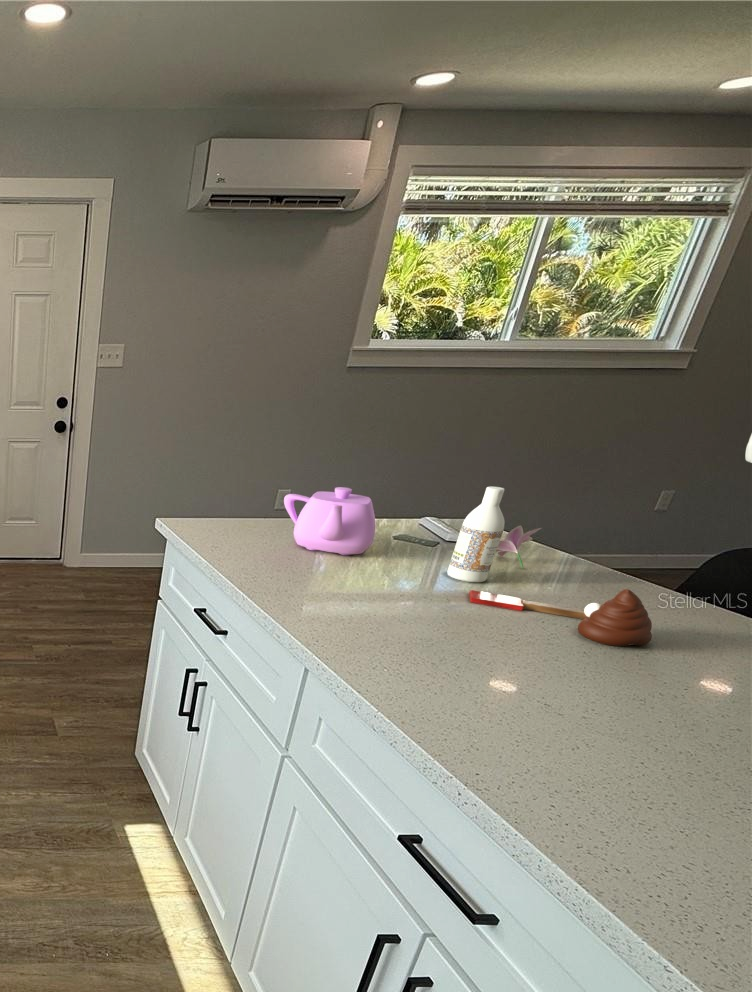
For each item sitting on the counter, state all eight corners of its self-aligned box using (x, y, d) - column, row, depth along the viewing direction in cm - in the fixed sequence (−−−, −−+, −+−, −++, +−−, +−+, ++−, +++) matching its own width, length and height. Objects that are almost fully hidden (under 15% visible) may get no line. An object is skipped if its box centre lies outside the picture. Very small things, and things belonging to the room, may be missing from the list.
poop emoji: (607, 649, 108) (629, 599, 104) (560, 628, 116) (580, 580, 112) (663, 648, 108) (687, 598, 104) (613, 626, 116) (634, 579, 112)
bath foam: (468, 584, 135) (499, 492, 128) (438, 573, 142) (466, 485, 134) (493, 581, 137) (526, 490, 129) (463, 570, 143) (492, 483, 135)
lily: (534, 564, 149) (523, 525, 150) (564, 560, 138) (552, 518, 139) (474, 576, 153) (464, 537, 154) (499, 573, 142) (488, 532, 143)
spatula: (614, 618, 119) (617, 612, 119) (621, 628, 115) (623, 622, 115) (468, 594, 131) (470, 588, 130) (470, 602, 127) (472, 596, 126)
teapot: (281, 531, 172) (292, 476, 166) (372, 544, 161) (387, 486, 155) (265, 554, 155) (277, 493, 149) (365, 570, 144) (382, 505, 138)
